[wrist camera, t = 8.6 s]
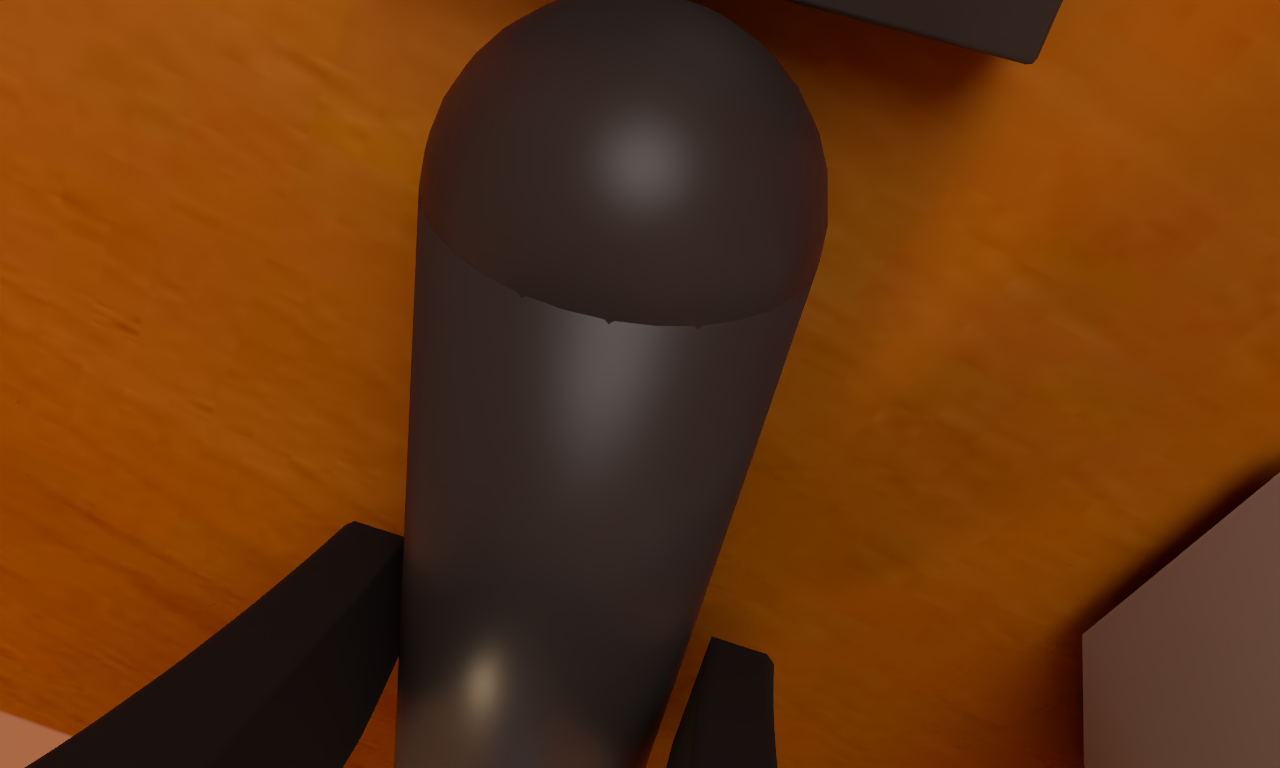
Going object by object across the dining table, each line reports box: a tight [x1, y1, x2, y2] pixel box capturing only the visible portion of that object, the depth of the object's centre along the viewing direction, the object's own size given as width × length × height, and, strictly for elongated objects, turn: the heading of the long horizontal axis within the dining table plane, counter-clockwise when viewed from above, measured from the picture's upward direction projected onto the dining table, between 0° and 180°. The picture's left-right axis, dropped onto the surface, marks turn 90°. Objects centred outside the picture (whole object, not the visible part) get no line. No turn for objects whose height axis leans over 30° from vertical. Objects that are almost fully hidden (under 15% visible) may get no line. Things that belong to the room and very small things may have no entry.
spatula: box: [394, 0, 1063, 768], centre depth 8 cm, size 18×5×3 cm, turn 169°
